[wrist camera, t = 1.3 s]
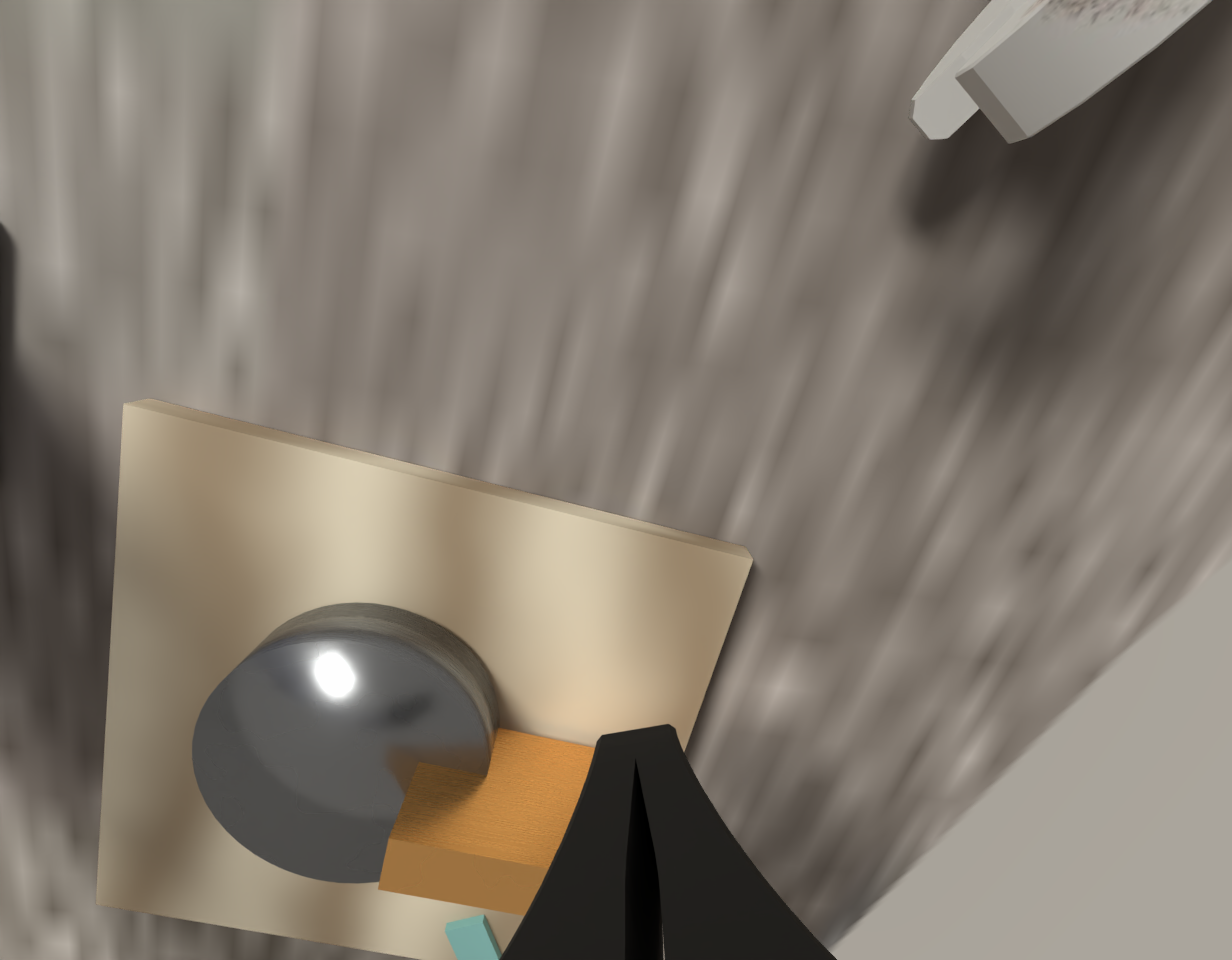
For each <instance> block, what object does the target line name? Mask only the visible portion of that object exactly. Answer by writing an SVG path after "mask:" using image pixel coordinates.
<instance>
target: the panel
mask: <svg viewBox="0 0 1232 960" xmlns="http://www.w3.org/2000/svg"><path fill="white" fill-rule="evenodd" d="M752 562H753V558H752V557H751V555H750V553H749V552H748V550H747V549H746V547H744V546H740V545H736V544H732V543H728V542H724V541H720V540H716V539H712V538H708V537H704V536H700V535H696V534H692V533H688V532H684V531H680V530H676V529H672V528H668V527H664V526H660V525H656V524H652V523H648V522H644V521H640V520H636V519H632V518H628V517H624V516H620V515H616V514H611V513H607V512H603V511H599V510H595V509H591V508H587V507H583V506H579V505H575V504H571V503H567V502H563V501H559V500H555V499H551V498H547V497H543V496H539V495H535V494H531V493H527V492H523V491H519V490H515V489H511V488H507V487H503V486H499V485H495V484H491V483H487V482H483V481H479V480H475V479H471V478H467V477H463V476H459V475H455V474H451V473H447V472H443V471H439V470H435V469H431V468H427V467H423V466H419V465H415V464H411V463H407V462H403V461H399V460H395V459H391V458H387V457H383V456H379V455H375V454H371V453H367V452H363V451H359V450H355V449H351V448H347V447H343V446H339V445H335V444H331V443H327V442H323V441H319V440H315V439H311V438H307V437H303V436H299V435H295V434H291V433H287V432H283V431H279V430H275V429H271V428H267V427H262V426H258V425H254V424H250V423H246V422H242V421H238V420H234V419H230V418H226V417H222V416H218V415H214V414H210V413H206V412H202V411H198V410H194V409H190V408H186V407H182V406H178V405H174V404H170V403H166V402H162V401H158V400H154V399H145V400H140V401H135V402H130V403H125V404H124V405H123V423H122V441H121V459H120V477H119V495H118V513H117V531H116V549H115V567H114V585H113V603H112V621H111V639H110V657H109V675H108V693H107V711H106V729H105V747H104V765H103V783H102V801H101V819H100V837H99V855H98V873H97V891H96V905H101V906H107V907H113V908H119V909H125V910H131V911H137V912H143V913H149V914H154V915H160V916H166V917H172V918H178V919H184V920H190V921H196V922H202V923H208V924H214V925H220V926H226V927H231V928H237V929H243V930H249V931H255V932H261V933H267V934H273V935H279V936H285V937H291V938H297V939H302V940H308V941H314V942H320V943H326V944H332V945H338V946H344V947H350V948H356V949H362V950H368V951H373V952H379V953H385V954H391V955H397V956H403V957H409V958H415V959H421V960H458V959H457V957H456V955H455V953H454V951H453V948H452V946H451V944H450V942H449V940H448V938H447V935H446V933H445V928H446V924H447V923H449V922H453V921H457V920H462V919H466V918H470V917H475V916H479V915H483V914H484V915H485V917H486V920H487V922H488V924H489V927H490V929H491V931H492V934H493V936H494V938H495V941H496V943H497V945H498V948H499V950H500V952H501V955H502V954H503V953H504V951H505V949H506V948H507V946H508V944H509V943H510V941H511V939H512V937H513V936H514V934H515V932H516V930H517V929H518V927H519V925H520V923H521V922H522V920H523V918H524V916H522V915H517V914H511V913H506V912H500V911H494V910H489V909H483V908H478V907H472V906H467V905H461V904H455V903H450V902H444V901H439V900H433V899H427V898H422V897H416V896H411V895H405V894H399V893H394V892H388V891H383V890H378V886H379V882H373V883H359V884H355V883H335V882H328V881H321V880H316V879H312V878H308V877H303V876H301V875H298V874H295V873H292V872H289V871H286V870H284V869H281V868H279V867H277V866H275V865H273V864H270V863H269V862H267V861H265V860H263V859H262V858H260V857H258V856H257V855H255V854H253V853H252V852H251V851H249V850H248V849H247V848H245V847H244V846H242V845H241V844H240V843H239V842H238V841H236V840H235V839H234V838H233V837H232V836H231V835H230V834H229V833H228V832H227V831H226V830H225V829H224V828H223V827H222V825H221V824H220V823H219V822H218V821H217V819H216V818H215V817H214V815H213V814H212V812H211V811H210V809H209V808H208V806H207V805H206V803H205V801H204V798H203V796H202V794H201V792H200V790H199V787H198V784H197V781H196V777H195V774H194V768H193V761H192V740H193V734H194V729H195V725H196V722H197V719H198V717H199V714H200V711H201V709H202V707H203V706H204V704H205V702H206V700H207V699H208V697H209V696H210V694H211V693H212V692H213V691H214V689H215V688H216V687H217V686H218V684H219V683H220V682H221V681H222V680H223V679H224V678H225V677H226V676H227V675H228V674H229V673H230V672H231V671H232V670H233V669H234V668H235V667H236V666H237V665H238V664H240V663H241V662H242V661H243V660H244V659H245V658H246V657H247V656H248V655H249V654H250V653H251V652H252V651H253V650H254V649H255V648H256V647H257V646H258V645H259V644H260V643H261V642H262V641H263V640H264V639H265V638H266V637H267V636H268V635H269V634H270V633H272V632H273V631H274V630H275V629H276V628H277V627H279V626H280V625H282V624H283V623H285V622H287V621H288V620H290V619H292V618H294V617H296V616H298V615H300V614H302V613H304V612H307V611H310V610H313V609H316V608H319V607H323V606H328V605H334V604H340V603H354V602H359V603H376V604H382V605H388V606H393V607H397V608H400V609H404V610H407V611H410V612H413V613H415V614H418V615H420V616H422V617H425V618H427V619H429V620H431V621H432V622H434V623H436V624H438V625H440V626H441V627H443V628H444V629H446V630H447V631H448V632H450V633H451V634H453V635H454V636H455V637H457V638H458V639H459V640H460V641H461V642H462V643H463V644H464V645H465V646H466V647H467V648H468V649H469V650H470V651H471V652H472V653H473V655H474V656H475V657H476V658H477V659H478V661H479V662H480V664H481V665H482V667H483V668H484V670H485V672H486V673H487V675H488V677H489V679H490V681H491V684H492V686H493V688H494V691H495V695H496V698H497V702H498V708H499V715H500V728H502V729H507V730H512V731H517V732H521V733H526V734H531V735H536V736H540V737H545V738H550V739H555V740H560V741H564V742H569V743H574V744H579V745H583V746H588V747H593V748H595V746H596V742H597V740H598V739H599V738H600V737H601V735H604V734H610V733H616V732H622V731H628V730H634V729H640V728H646V727H652V726H658V725H664V724H670V725H671V726H673V727H674V728H676V732H677V736H678V739H679V741H680V744H681V747H682V749H683V751H685V749H686V746H687V743H688V740H689V737H690V735H691V732H692V729H693V726H694V724H695V721H696V718H697V715H698V712H699V710H700V707H701V704H702V701H703V698H704V696H705V693H706V690H707V687H708V685H709V682H710V679H711V676H712V673H713V671H714V668H715V665H716V662H717V659H718V657H719V654H720V651H721V648H722V646H723V643H724V640H725V637H726V634H727V632H728V629H729V626H730V623H731V620H732V618H733V615H734V612H735V609H736V607H737V604H738V601H739V598H740V595H741V593H742V590H743V587H744V584H745V581H746V579H747V576H748V573H749V570H750V568H751V565H752Z"/></svg>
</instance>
